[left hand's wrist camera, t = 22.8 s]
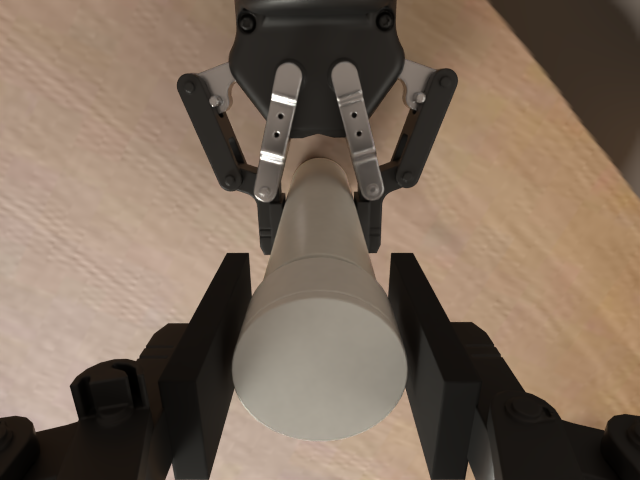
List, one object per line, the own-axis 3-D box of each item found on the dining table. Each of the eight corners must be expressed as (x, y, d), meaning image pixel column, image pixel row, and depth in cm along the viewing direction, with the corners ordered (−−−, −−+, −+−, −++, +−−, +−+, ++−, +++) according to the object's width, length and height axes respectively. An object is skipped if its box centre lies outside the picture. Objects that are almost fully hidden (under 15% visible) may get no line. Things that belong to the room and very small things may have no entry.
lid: (354, 231, 11) (363, 267, 9) (414, 349, 13) (434, 406, 11) (219, 295, 12) (196, 342, 10) (290, 400, 14) (284, 463, 11)
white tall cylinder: (331, 146, 28) (352, 260, 10) (358, 197, 29) (416, 376, 11) (280, 174, 28) (217, 326, 11) (308, 223, 30) (292, 428, 12)
